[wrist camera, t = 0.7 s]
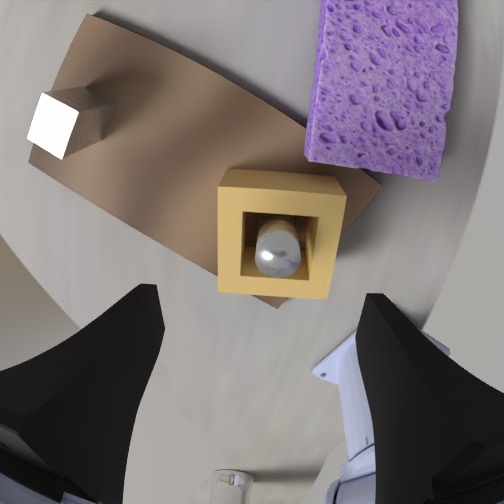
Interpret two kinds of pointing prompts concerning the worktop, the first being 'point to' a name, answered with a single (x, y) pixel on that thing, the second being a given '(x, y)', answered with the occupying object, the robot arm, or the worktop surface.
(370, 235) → the worktop surface
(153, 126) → the stand board
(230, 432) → the worktop surface
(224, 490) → the beer glass
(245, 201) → the collar
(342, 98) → the sponges
